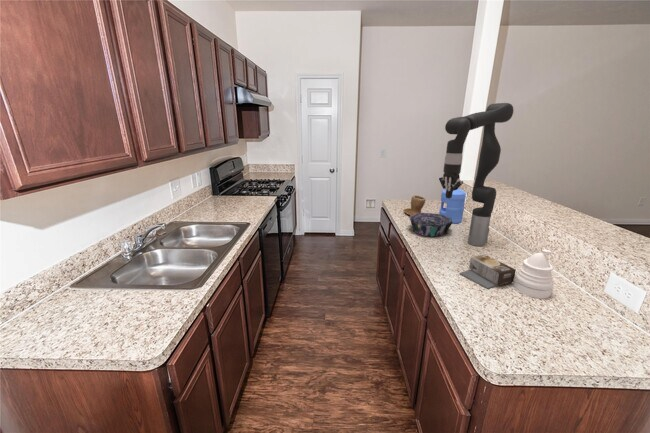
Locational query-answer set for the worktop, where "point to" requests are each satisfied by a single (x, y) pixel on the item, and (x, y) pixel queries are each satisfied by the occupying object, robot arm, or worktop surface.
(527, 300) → the worktop surface
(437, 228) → the decorative bowl
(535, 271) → the honey pot
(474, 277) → the rubber mat
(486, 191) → the robot arm
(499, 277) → the coffee box
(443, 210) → the water jug
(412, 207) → the brown boot
